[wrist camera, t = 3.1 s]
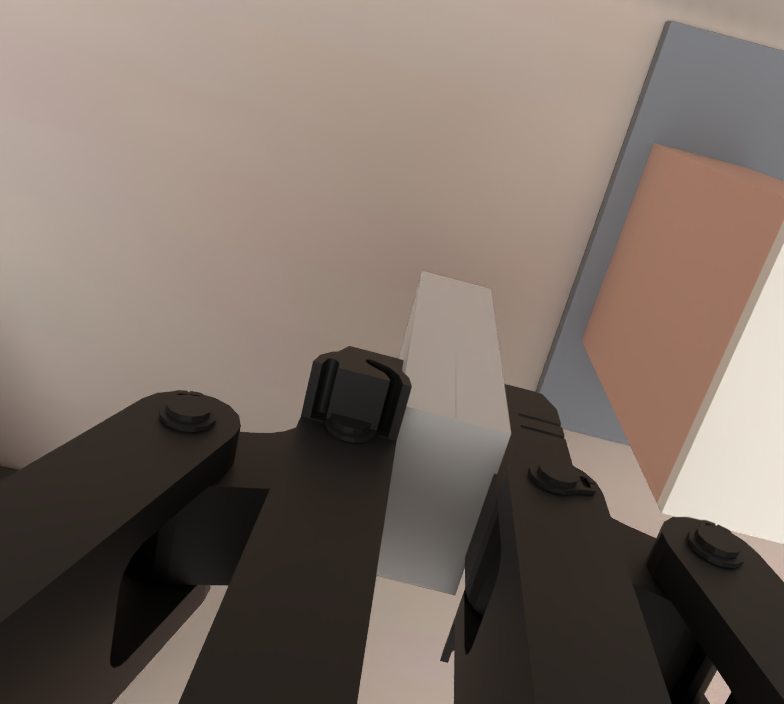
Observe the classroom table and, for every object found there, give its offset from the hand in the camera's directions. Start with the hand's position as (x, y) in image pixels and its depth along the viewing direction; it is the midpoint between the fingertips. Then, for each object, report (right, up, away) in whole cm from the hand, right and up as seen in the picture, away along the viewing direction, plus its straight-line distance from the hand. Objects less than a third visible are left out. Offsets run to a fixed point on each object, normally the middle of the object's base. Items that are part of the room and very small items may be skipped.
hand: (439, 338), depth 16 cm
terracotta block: (+11, +4, +17) cm, 20 cm away
